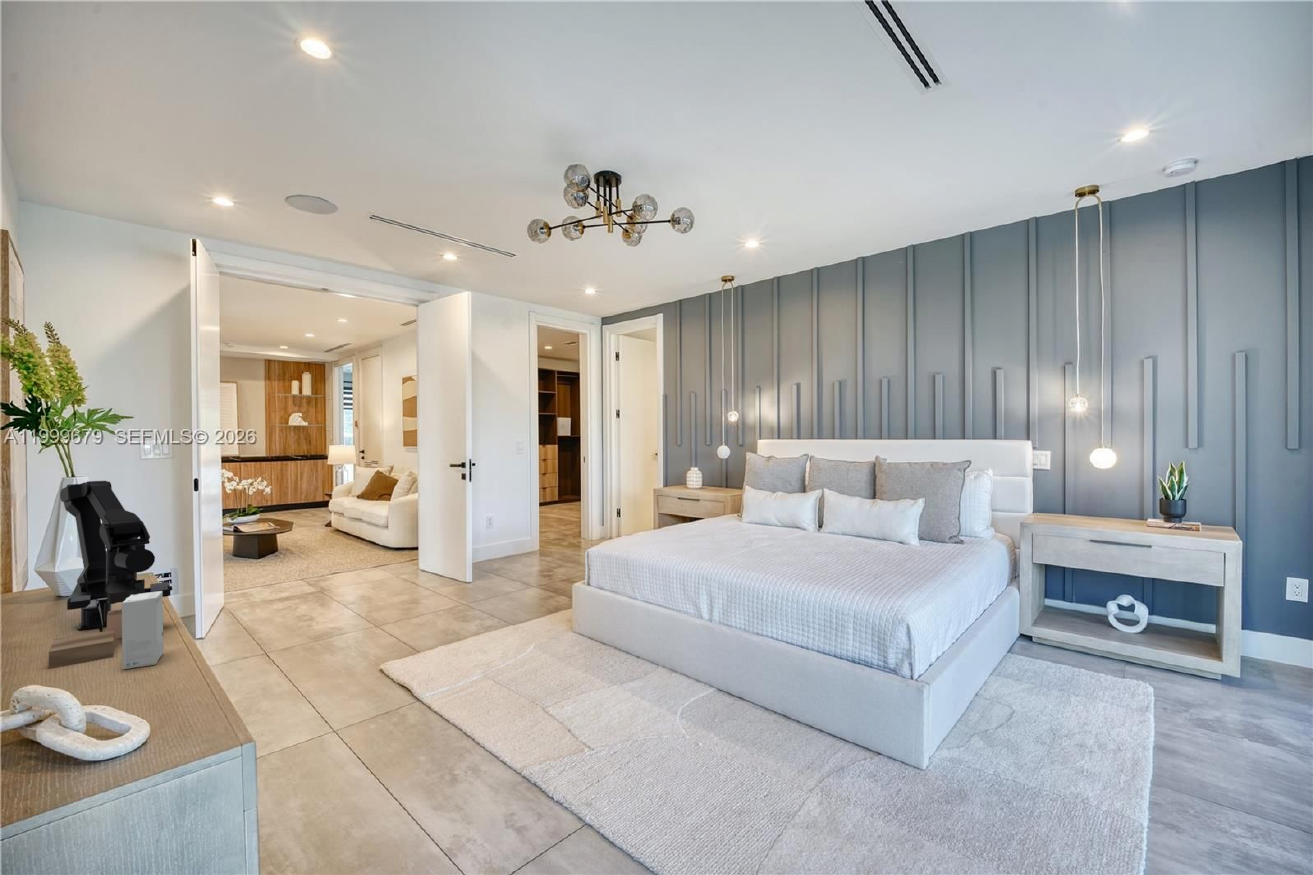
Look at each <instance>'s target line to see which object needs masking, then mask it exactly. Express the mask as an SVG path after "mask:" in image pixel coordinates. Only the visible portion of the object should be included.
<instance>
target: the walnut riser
mask: <svg viewBox="0 0 1313 875" xmlns="http://www.w3.org/2000/svg"><path fill="white" fill-rule="evenodd" d="M115 640H116V639H115V630H111V631H107V630H105V631H104V630H103V632H100V631H99V632H92V633H87V634H82V635H80V634H79V635H75V636H68V637H62V638H61V637H60V638H55V639H53V641H52V644H51V645H50V649H49V651H48V669H54V668H59V667H65V666H71V665H77V664H83V663H88V662H93V661H94V662H95V661H98V660H103V659H108V658H109V659H111V658H114V650H115V642H116V641H115Z"/></svg>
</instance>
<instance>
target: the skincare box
mask: <svg viewBox="0 0 1313 875" xmlns="http://www.w3.org/2000/svg"><path fill="white" fill-rule="evenodd" d="M162 594H163V591H157V592H149V593H142V594H134V595H131V596H130V597H128V598H126V600H125V601H124V602H121V609H122V638H121V653H122V654H121V658H122V660H121V664H122V666H121V668H122V670H127V669H128V670H129V669H133V668H134V669H135V668H140V667H141V668H143V667H149V666H155V665H157V664H158V662H159V659H160V657H161V658H162V655H163V654H164V610H163V598H164V597H163V596H162Z"/></svg>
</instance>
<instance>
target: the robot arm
mask: <svg viewBox="0 0 1313 875" xmlns="http://www.w3.org/2000/svg"><path fill="white" fill-rule="evenodd" d="M59 492H60V493H59V498H60V501H61V502H63V505H64V509H65V511H67V512H68V513H69V514H70V515H72V516H73V517H74V518H75V523H76V524H75V525H76V530H77V535H78V541H79V547H80V554H81V560H82V565H83V570H82V571H81V573H80V574H79V576H78V578H77V579H76V583H77V584H76V585H75V587H74V589H73V591H72V593H71V594H70V595H69V596H68V598H67V601H66V610H68V611H69V610H79V609H80V623H78V626H77V631H83V630H90V629H98V630H99V632H104V627H107V614H108V611H112V605H116V604H118V603H122V602H124V601H125V600H126V598H128V597H130V596H131V595H134V594H142V593H149V592H157V591H163V594H162V596H163V598H165V597H167V598H168V597H169V596H170V597H171V591H172V590H171V583H169V582H168V581H164V582H157V583H155V582H154V583H150V584H149V585H150V586H149V587H145V582H146V581H145V578H144V579H143V578H142V579H138V573H142V572H146V571H147V570H149V569H150V568H152V566H153V565H154V563H155V562H156V561H155V560H156V557H155V555H154V553H153V552H152V551H151V550H149V549H146V545H149V544H150V543H151V542H150V538H151V536H150V533H149V531H148V529H147V527H146V525H145V524H144V522H143V521H142V520H141V519H140V517H139V516H138V515H137V513H134V512H132V511H128V510H126V509H125V508H124V506H123V505H122V503H121V501H120V500H119V499H118V497H117V495H116V493H115V492H114V490H113V488H112V483H111V482H110V481H108V480H90V481H89V480H87V481H86V482H82V483H74V484H73V483H72V484H71V483H70V484H67V485H66V487H64V488H62V489H60V491H59Z"/></svg>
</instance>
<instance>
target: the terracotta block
mask: <svg viewBox="0 0 1313 875" xmlns="http://www.w3.org/2000/svg"><path fill="white" fill-rule="evenodd" d="M111 630H115V640H116V639H122V608H121V609H117V610H115V609H114V610H111V611H108V614H107V626H106V631H111Z"/></svg>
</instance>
